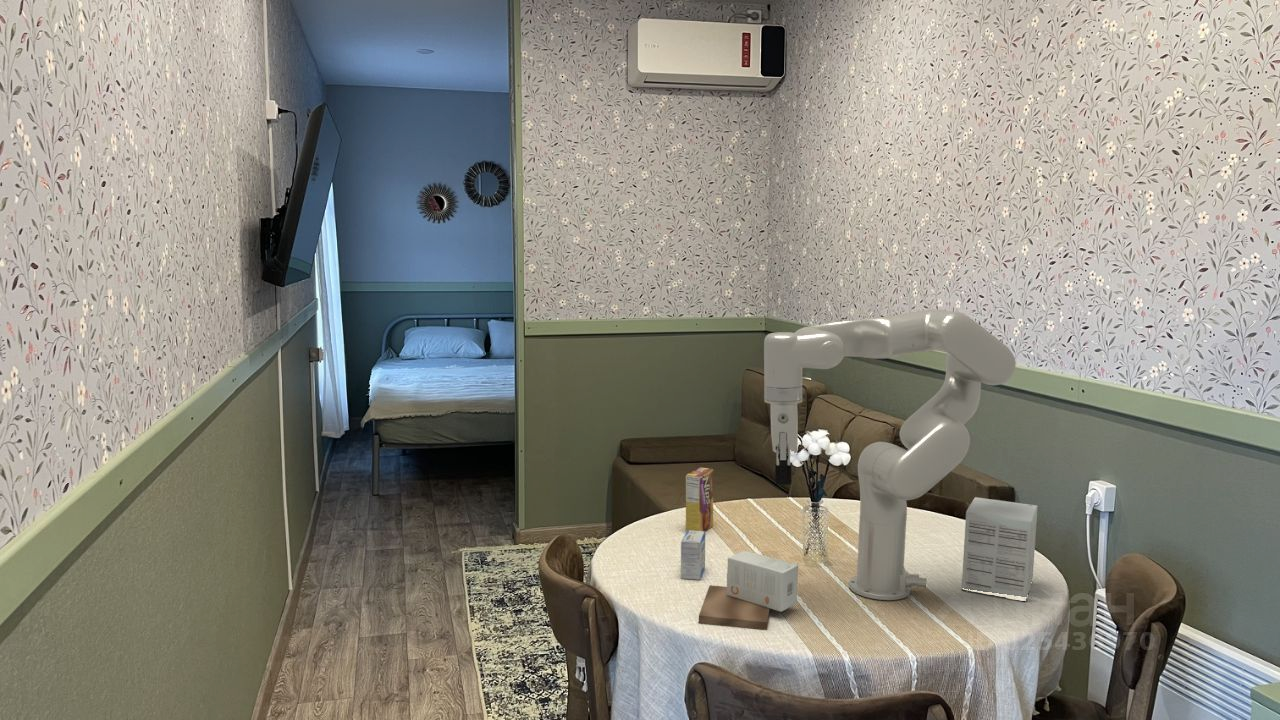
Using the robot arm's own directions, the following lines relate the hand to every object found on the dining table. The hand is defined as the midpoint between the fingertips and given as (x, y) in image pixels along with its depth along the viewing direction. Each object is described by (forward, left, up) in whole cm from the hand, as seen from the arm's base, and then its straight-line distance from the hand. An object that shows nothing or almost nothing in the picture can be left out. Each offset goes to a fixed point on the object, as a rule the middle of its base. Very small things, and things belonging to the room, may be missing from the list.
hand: (783, 483), depth 182 cm
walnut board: (+8, +8, -24) cm, 27 cm away
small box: (-3, +8, -19) cm, 21 cm away
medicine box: (+20, -10, -25) cm, 33 cm away
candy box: (+23, -41, -25) cm, 53 cm away
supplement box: (-45, -18, -25) cm, 55 cm away
